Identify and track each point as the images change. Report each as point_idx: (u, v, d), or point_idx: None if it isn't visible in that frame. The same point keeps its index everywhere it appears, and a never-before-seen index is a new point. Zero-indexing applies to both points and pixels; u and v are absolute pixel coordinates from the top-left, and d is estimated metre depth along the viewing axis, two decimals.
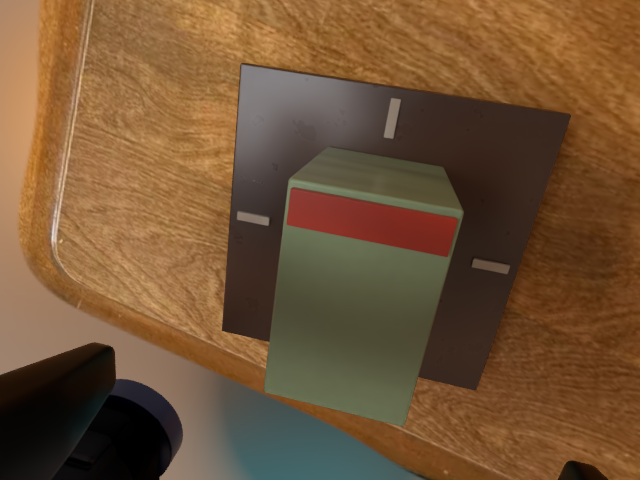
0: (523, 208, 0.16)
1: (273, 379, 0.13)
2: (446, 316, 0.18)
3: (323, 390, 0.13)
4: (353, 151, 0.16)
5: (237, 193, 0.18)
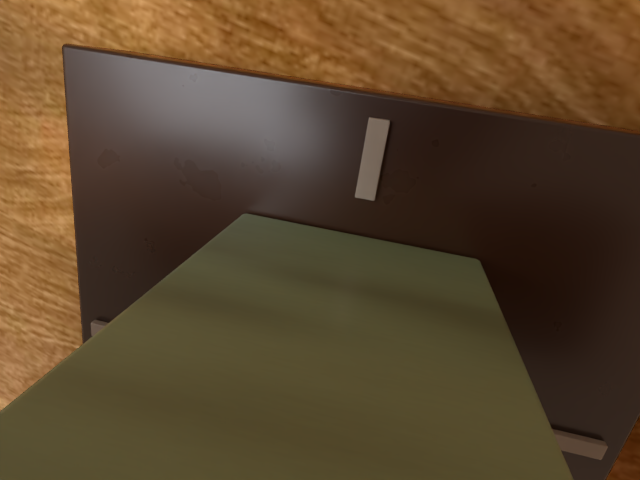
0: None
1: None
2: None
3: None
4: (294, 224, 0.08)
5: (88, 290, 0.10)
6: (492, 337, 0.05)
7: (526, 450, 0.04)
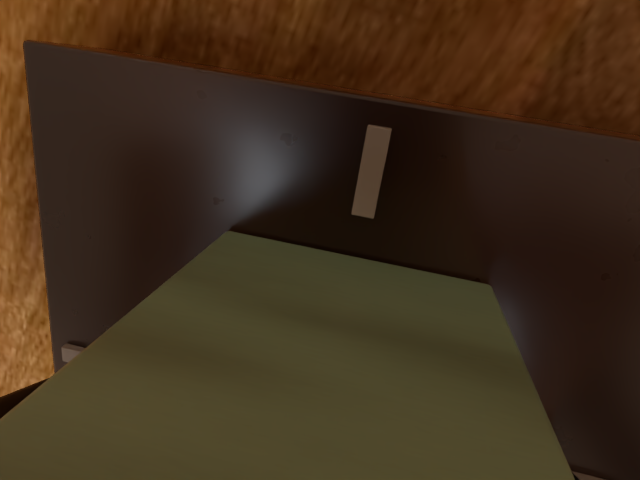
0: (222, 109, 0.07)
1: None
2: (524, 268, 0.07)
3: None
4: (282, 244, 0.07)
5: None
6: (513, 392, 0.04)
7: None
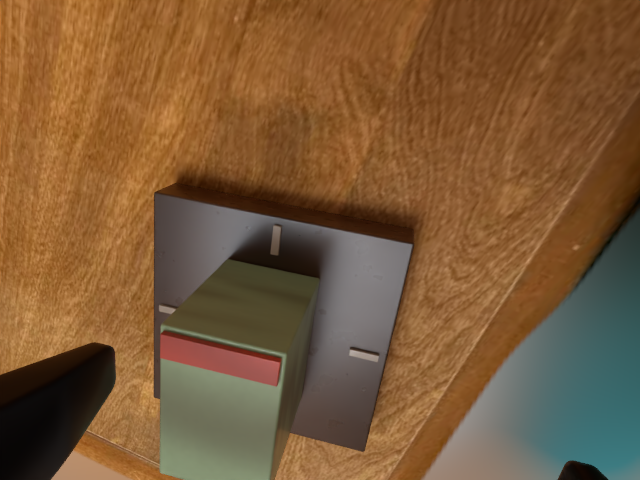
0: (225, 217, 0.20)
1: (165, 464, 0.17)
2: (330, 272, 0.20)
3: (204, 473, 0.17)
4: (246, 264, 0.20)
5: None
6: (300, 305, 0.17)
7: (287, 328, 0.15)
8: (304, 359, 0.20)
